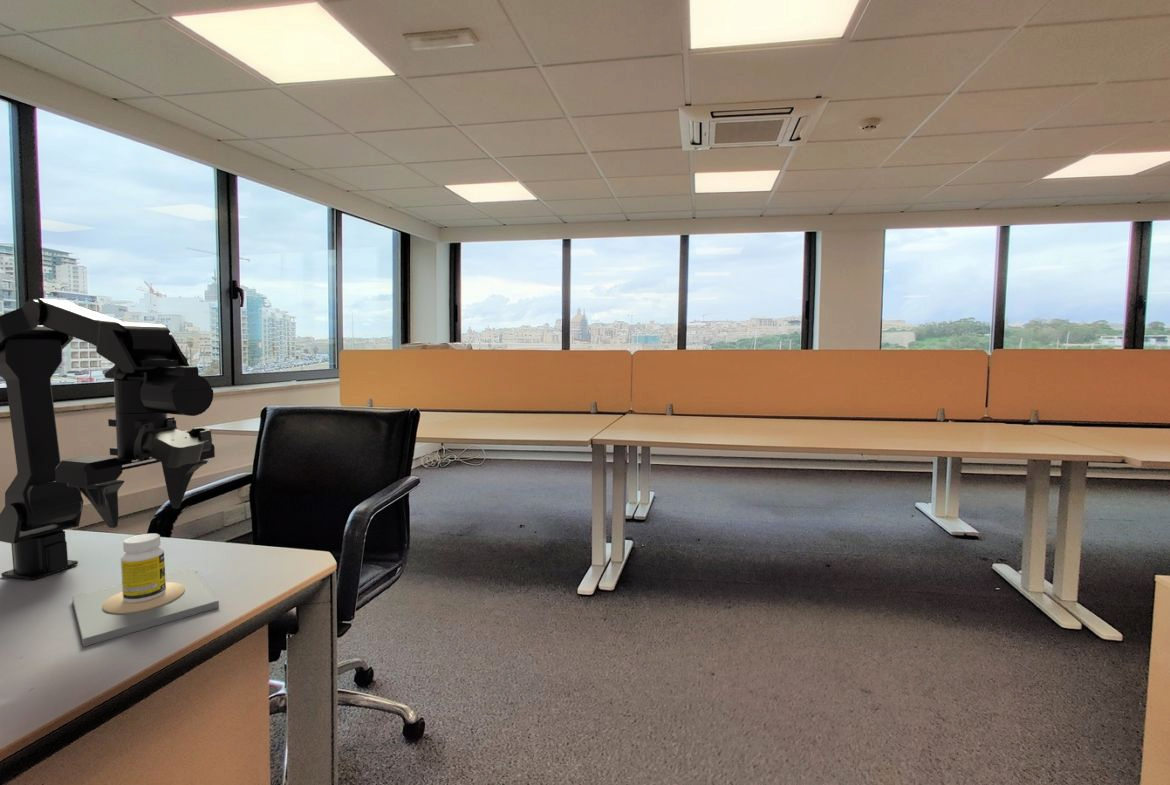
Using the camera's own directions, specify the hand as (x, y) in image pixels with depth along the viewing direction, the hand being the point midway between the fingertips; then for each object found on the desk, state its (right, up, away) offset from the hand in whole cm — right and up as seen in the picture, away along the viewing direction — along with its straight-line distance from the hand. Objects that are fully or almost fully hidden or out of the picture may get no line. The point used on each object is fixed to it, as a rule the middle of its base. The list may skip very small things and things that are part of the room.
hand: (146, 517), depth 78 cm
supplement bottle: (+2, -11, -2) cm, 11 cm away
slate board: (+2, -12, -2) cm, 12 cm away
